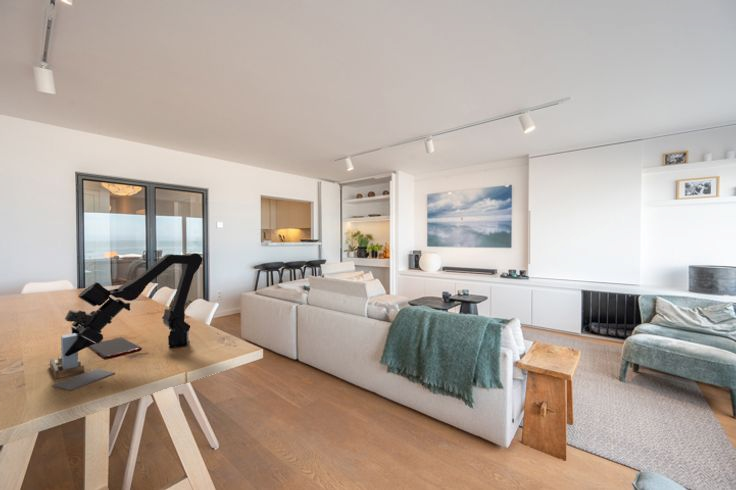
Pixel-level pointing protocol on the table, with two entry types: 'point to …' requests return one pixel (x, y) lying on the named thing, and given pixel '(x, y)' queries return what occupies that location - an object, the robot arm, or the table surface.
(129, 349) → the smartphone
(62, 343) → the block
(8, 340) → the table surface
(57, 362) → the offcut stack
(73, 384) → the mat
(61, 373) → the rack
